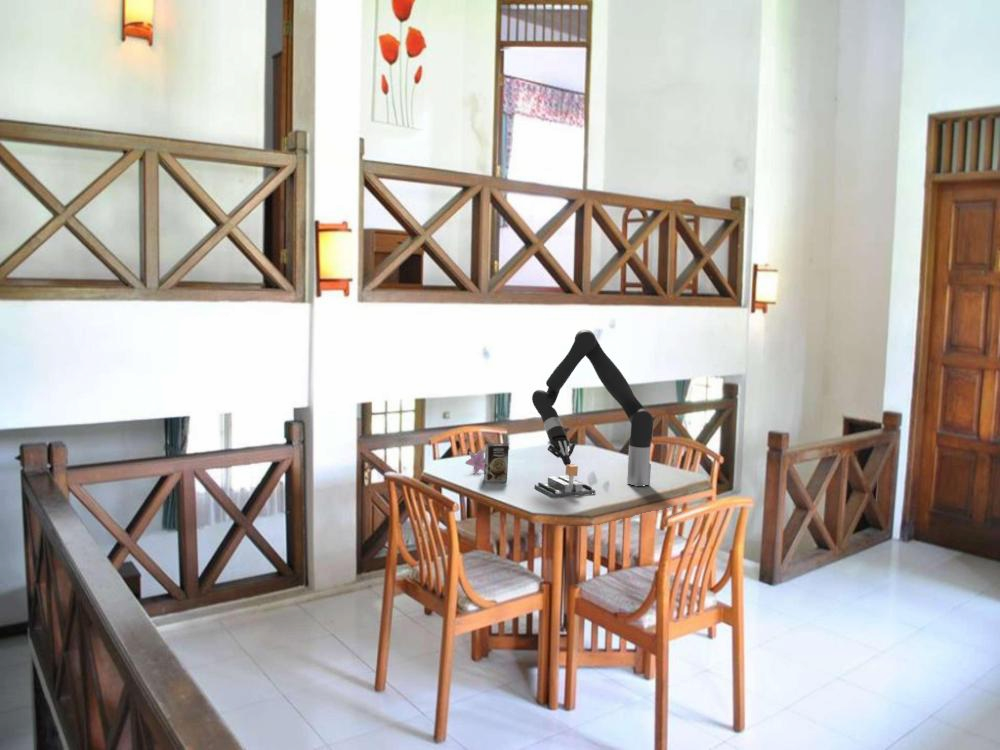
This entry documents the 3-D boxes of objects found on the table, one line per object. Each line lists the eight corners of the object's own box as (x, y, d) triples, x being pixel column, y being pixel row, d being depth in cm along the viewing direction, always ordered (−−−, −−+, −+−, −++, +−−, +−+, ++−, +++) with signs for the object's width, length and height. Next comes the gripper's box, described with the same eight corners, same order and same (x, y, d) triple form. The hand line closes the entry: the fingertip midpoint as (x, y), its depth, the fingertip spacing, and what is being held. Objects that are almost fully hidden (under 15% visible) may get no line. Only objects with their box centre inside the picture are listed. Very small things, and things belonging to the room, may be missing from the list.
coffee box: (487, 482, 354) (488, 445, 352) (483, 479, 360) (484, 442, 358) (507, 482, 356) (509, 445, 354) (503, 478, 362) (505, 442, 360)
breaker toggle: (571, 487, 342) (572, 464, 341) (576, 490, 339) (577, 466, 338) (564, 488, 341) (566, 464, 340) (569, 490, 337) (570, 466, 336)
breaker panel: (575, 484, 356) (576, 474, 356) (595, 493, 342) (595, 483, 341) (534, 488, 348) (534, 477, 347) (552, 497, 333) (553, 486, 333)
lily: (460, 475, 370) (467, 459, 365) (462, 460, 380) (469, 444, 376) (485, 483, 372) (492, 467, 367) (486, 468, 382) (494, 452, 377)
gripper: (544, 425, 346) (557, 460, 336) (571, 424, 351) (585, 458, 342) (538, 436, 351) (550, 470, 341) (565, 434, 357) (578, 468, 347)
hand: (568, 464), depth 342 cm, fingers closed
